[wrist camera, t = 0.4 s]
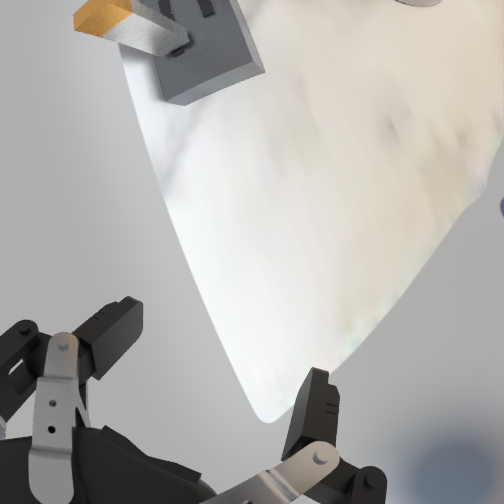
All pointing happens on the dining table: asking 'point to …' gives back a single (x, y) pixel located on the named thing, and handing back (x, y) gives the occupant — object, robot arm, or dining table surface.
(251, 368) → the dining table surface
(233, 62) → the console
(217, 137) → the dining table surface
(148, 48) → the knob orange
